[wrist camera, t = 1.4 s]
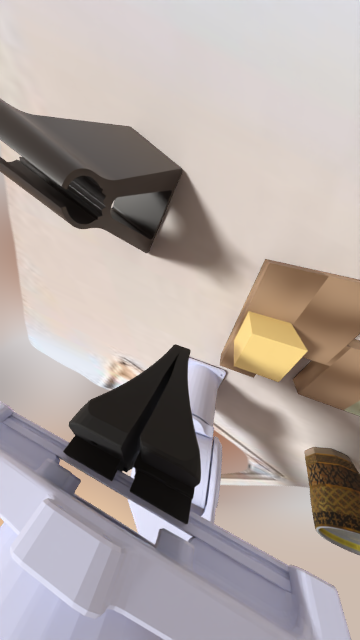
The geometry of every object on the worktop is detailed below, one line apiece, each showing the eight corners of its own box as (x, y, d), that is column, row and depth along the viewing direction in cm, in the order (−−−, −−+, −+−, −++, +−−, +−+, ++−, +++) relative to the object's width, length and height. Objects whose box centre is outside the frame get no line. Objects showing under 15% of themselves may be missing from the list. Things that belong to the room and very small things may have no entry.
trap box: (361, 403, 20) (387, 440, 17) (221, 354, 24) (218, 375, 20) (515, 314, 12) (634, 349, 8) (265, 259, 16) (274, 267, 12)
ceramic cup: (301, 465, 32) (324, 543, 24) (287, 439, 29) (307, 518, 21) (391, 477, 26) (463, 591, 18) (384, 446, 23) (467, 565, 15)
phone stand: (147, 253, 19) (58, 274, 10) (110, 224, 19) (-21, 216, 9) (183, 170, 14) (67, 32, 4) (133, 128, 14) (-113, -121, 4)
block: (270, 352, 18) (278, 382, 15) (234, 340, 19) (233, 366, 15) (291, 323, 16) (307, 350, 12) (248, 311, 16) (252, 333, 13)
